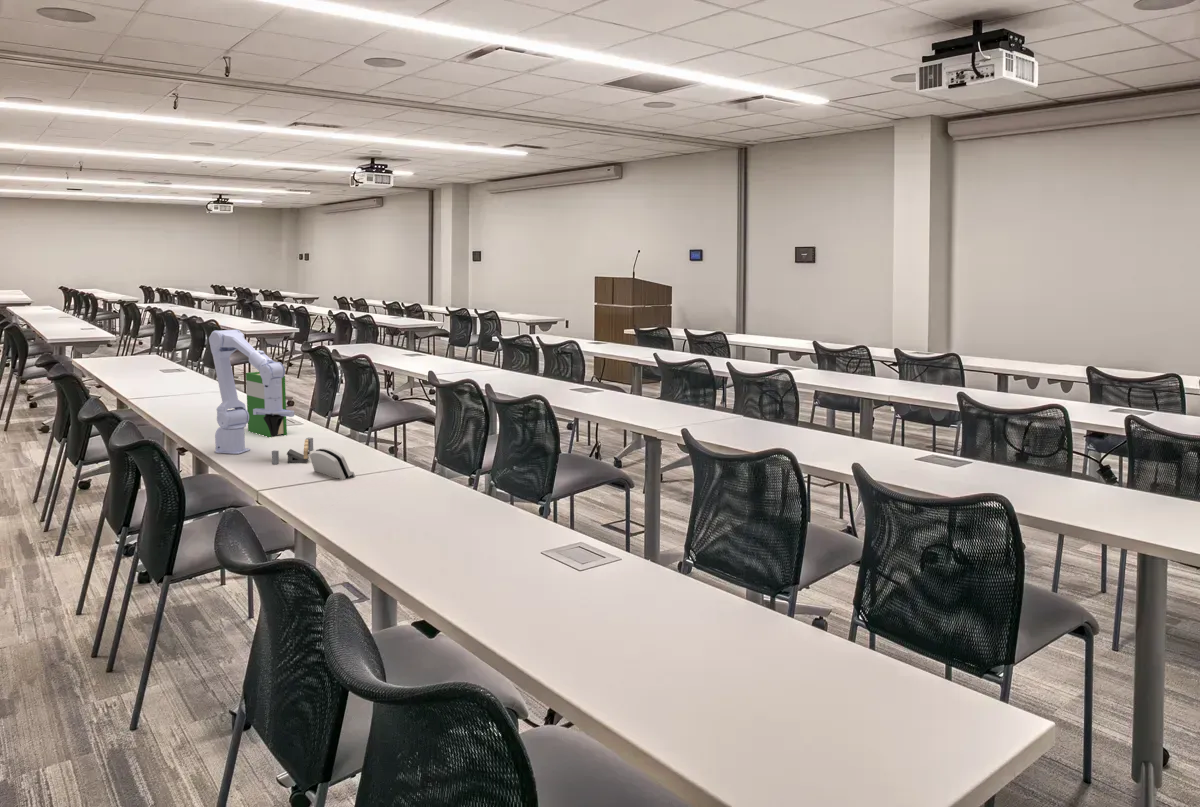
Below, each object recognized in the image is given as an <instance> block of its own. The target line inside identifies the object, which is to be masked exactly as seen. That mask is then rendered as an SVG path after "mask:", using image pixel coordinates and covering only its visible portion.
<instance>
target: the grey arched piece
mask: <svg viewBox="0 0 1200 807" xmlns="http://www.w3.org/2000/svg"><path fill="white" fill-rule="evenodd" d="M309 457H310V458H309V459H310V461H311V464H312V467H313V471H314V472H315V471H317V472H316V473H319V472H320V474H322V473H323V475H325V474H327V475H326V476H329V475H330V476H329V477H332V476H333V478H335V477H336V479H338V478H340V479H339V480H342V479H344V480H345V479H346V478H347V477H352V478H356V475H355V472H354V471H351V470H350V468H349V466H348V463H347V460H346V459H345V457H344V455H342V454H341V453H339V452H338V451H336V450H334V449H331V448H328V447H322V448H318V449H315V450H314V451H312V452H310V454H309Z"/></svg>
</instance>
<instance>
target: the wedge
mask: <svg viewBox="0 0 1200 807" xmlns="http://www.w3.org/2000/svg"><path fill="white" fill-rule="evenodd" d="M286 455H287V464H307V463H308V462H309V460H310V458H309V457H308V459H309V460H308V459H304V453H303V454H302V453H300V452H299V451H296V450H294V449H291V448H289V450H288V451H287V452H286ZM306 462H307V463H306Z"/></svg>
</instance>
